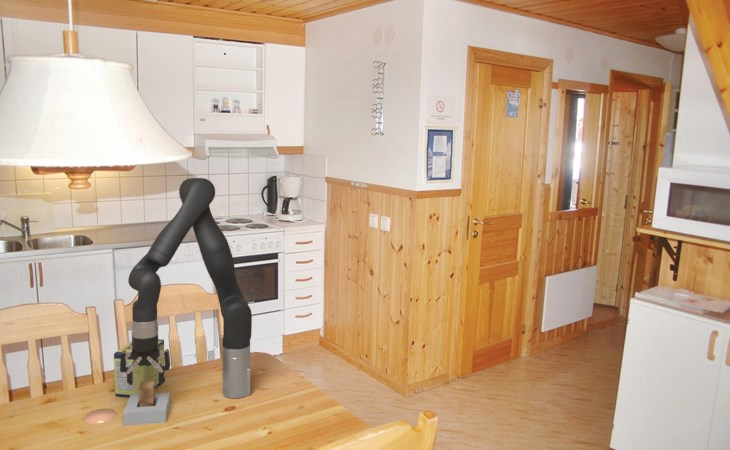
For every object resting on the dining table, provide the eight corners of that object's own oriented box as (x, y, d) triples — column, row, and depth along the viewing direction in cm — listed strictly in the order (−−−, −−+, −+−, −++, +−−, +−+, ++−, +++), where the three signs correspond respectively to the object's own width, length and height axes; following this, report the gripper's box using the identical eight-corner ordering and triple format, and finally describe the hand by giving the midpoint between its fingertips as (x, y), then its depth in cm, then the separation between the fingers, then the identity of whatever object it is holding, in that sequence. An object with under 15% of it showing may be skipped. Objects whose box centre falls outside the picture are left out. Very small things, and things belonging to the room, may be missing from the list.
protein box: (165, 380, 202) (164, 338, 200) (144, 400, 187) (143, 355, 184) (137, 378, 203) (136, 337, 201) (114, 398, 188) (112, 353, 185)
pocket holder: (170, 405, 184) (169, 392, 183) (165, 423, 172) (165, 410, 172) (130, 408, 181) (130, 395, 181) (123, 427, 170) (123, 413, 169)
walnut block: (155, 410, 179) (154, 381, 178) (153, 417, 175) (152, 386, 174) (142, 411, 178) (141, 381, 177) (139, 418, 174) (138, 387, 173)
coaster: (118, 409, 180) (118, 407, 180) (112, 423, 171) (112, 421, 171) (88, 412, 178) (87, 409, 178) (80, 426, 169) (80, 423, 169)
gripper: (171, 328, 178) (171, 377, 181) (122, 329, 175) (123, 379, 177) (168, 336, 171) (168, 387, 173) (117, 338, 168) (118, 389, 170)
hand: (145, 383), depth 175 cm, fingers open, 8 cm apart
